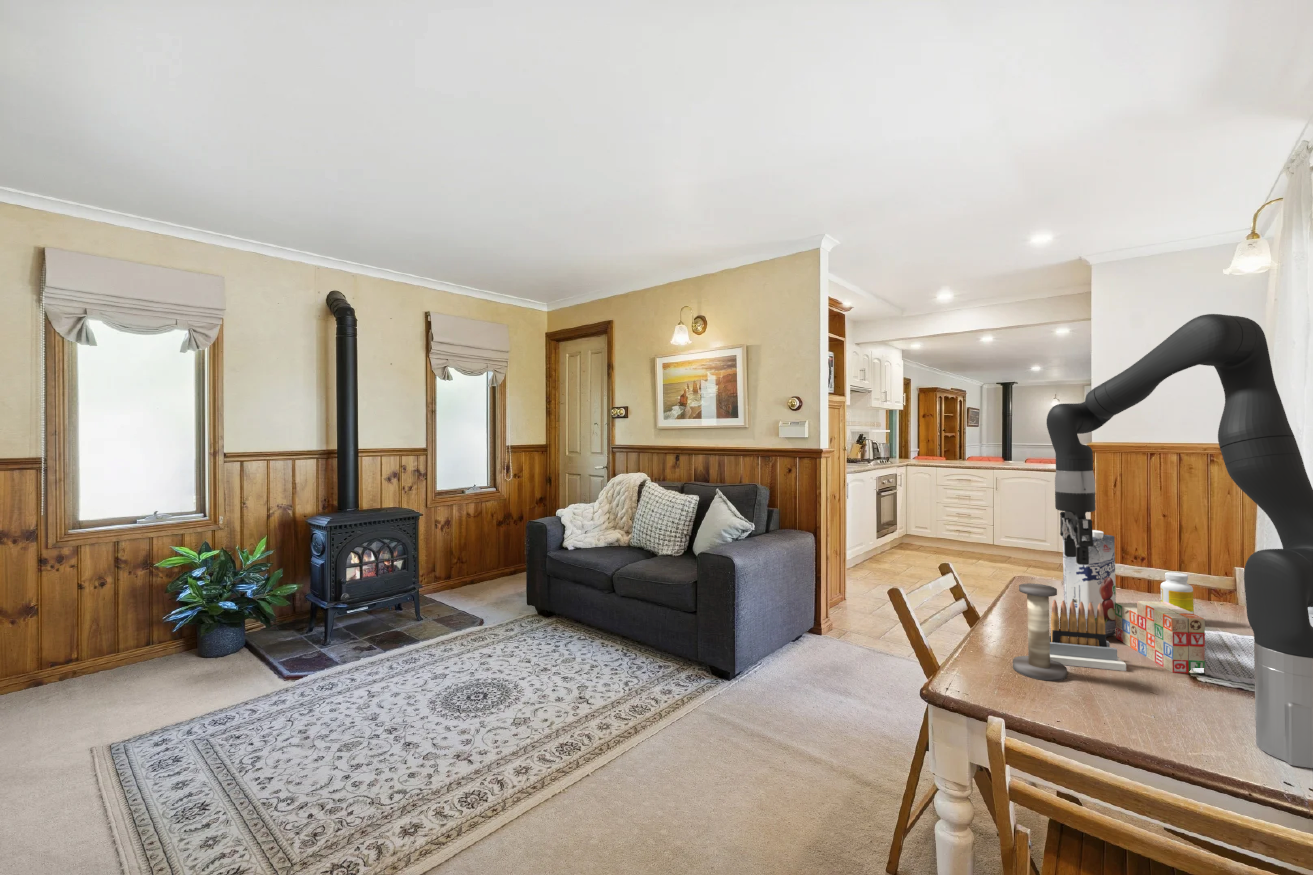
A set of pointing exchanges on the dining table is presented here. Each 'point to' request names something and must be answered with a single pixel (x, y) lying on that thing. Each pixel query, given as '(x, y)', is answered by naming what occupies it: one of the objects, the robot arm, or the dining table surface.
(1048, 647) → the bobbin post
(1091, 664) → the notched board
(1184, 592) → the supplement bottle
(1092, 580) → the juice carton
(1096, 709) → the dining table surface
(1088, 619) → the ammunition clip
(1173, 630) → the stack of blocks
